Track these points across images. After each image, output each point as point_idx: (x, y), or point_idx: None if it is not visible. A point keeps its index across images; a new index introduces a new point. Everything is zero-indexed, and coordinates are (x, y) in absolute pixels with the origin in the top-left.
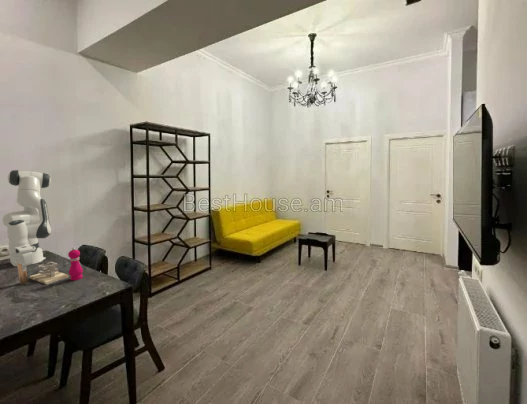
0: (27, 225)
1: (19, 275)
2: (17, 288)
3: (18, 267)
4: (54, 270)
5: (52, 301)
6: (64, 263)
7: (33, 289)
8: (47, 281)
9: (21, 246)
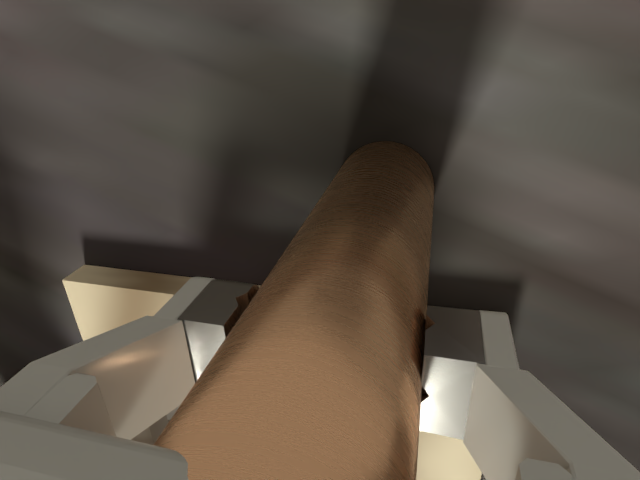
0: None
1: (343, 196)
2: (214, 36)
3: (277, 311)
4: None
5: None
6: None
7: (17, 127)
8: (67, 292)
9: None
